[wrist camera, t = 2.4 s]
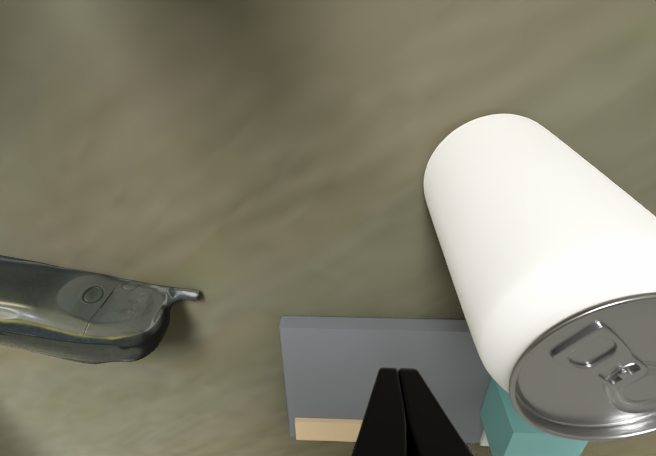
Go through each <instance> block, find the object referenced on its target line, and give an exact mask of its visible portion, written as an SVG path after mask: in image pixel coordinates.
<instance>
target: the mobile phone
mask: <svg viewBox="0 0 656 456" xmlns="http://www.w3.org/2000/svg"><path fill="white" fill-rule="evenodd" d="M199 296H200V293H199V291H198V290H190V289H182V288H174V287H166V286H159V285H151V284H145V283H142V282H138V281H132V280H125V279H119V278H114V277H110V276H106V275H102V274H96V273H90V272H83V271H77V270H70V269H65V268H60V267H56V266H52V265H47V264H43V263H38V262H33V261H28V260H22V259H17V258H11V257H6V256H1V255H0V345H4V346H10V347H16V348H21V349H25V350H28V351H32V352H36V353H41V354H45V355H50V356H54V357H58V358H61V359H64V360H69V361H74V362H81V363H88V364H101V363H107V362H132V361H137V360H140V359H142V358H144V357H146V356H147V355H149V354H150V353H151V352H153V351H154V350H155V349H156V348H157V346H158V345H159V343H160V341H161V340H162V338H163V336H164V334H165V332H166V330H167V327H168V325H169V321H170V310H171V306H172V304H173V303H174V302H175V301H177V300H180V299H181V300H190V301H196V300H199Z"/></svg>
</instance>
